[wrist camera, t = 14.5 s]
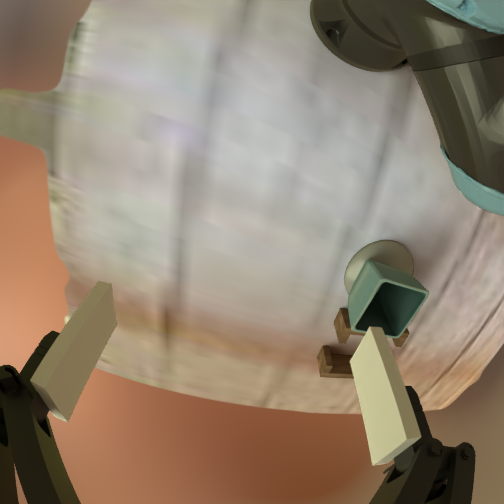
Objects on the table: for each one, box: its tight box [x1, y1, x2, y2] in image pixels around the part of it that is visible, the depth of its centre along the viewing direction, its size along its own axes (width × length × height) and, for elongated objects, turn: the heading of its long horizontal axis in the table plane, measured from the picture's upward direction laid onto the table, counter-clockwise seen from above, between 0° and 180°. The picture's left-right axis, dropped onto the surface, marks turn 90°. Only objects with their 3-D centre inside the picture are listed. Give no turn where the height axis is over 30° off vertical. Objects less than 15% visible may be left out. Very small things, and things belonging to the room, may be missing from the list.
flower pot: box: [348, 259, 429, 338], centre depth 38 cm, size 9×9×9 cm
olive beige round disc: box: [344, 240, 414, 295], centre depth 43 cm, size 12×12×1 cm
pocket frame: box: [317, 308, 410, 378], centre depth 47 cm, size 13×13×5 cm
